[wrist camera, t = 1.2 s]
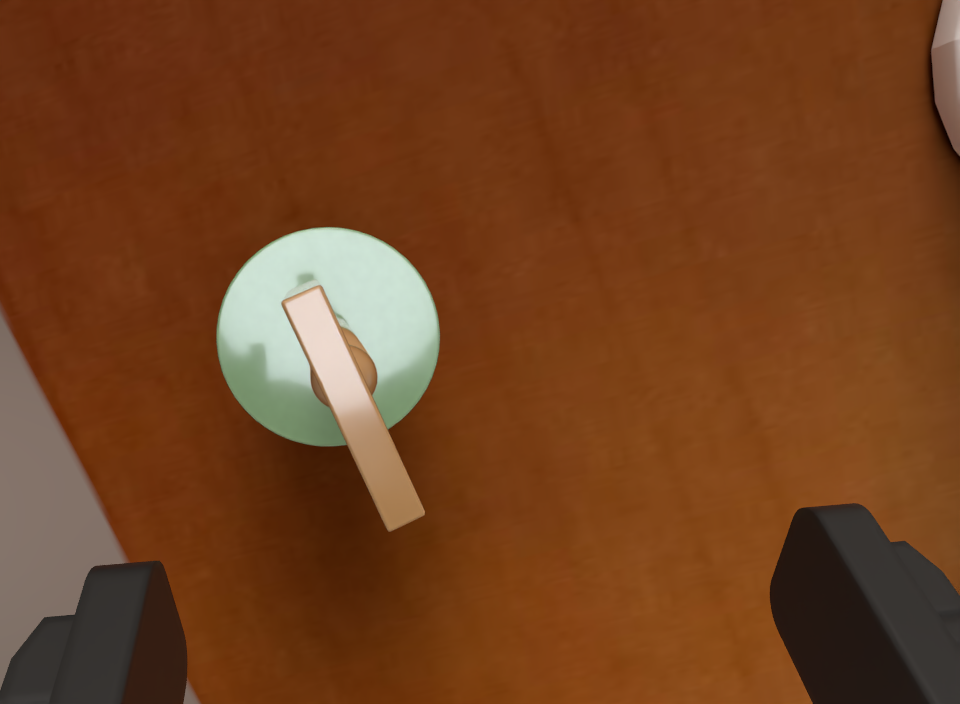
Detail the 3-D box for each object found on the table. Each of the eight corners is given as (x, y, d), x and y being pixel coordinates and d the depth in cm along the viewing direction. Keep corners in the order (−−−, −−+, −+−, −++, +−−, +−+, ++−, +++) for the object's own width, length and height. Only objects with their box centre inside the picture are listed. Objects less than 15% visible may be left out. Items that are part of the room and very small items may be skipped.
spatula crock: (220, 274, 34) (41, 301, 11) (359, 215, 35) (466, 125, 12) (285, 409, 35) (247, 694, 12) (418, 348, 36) (622, 506, 13)
